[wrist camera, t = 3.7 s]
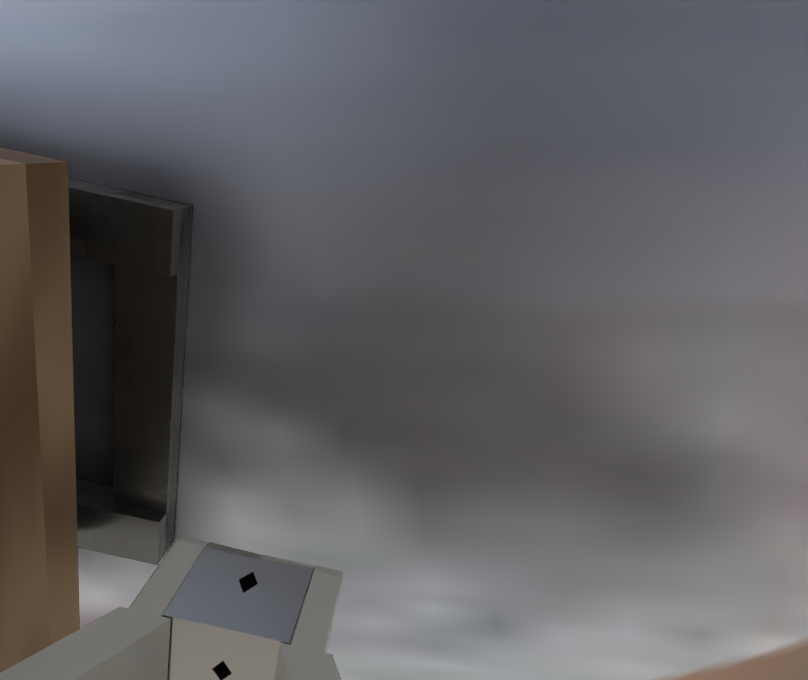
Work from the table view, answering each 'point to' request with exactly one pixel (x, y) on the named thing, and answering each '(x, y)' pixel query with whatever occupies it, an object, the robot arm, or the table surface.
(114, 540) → the track
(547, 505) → the table surface
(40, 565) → the tray
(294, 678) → the robot arm
